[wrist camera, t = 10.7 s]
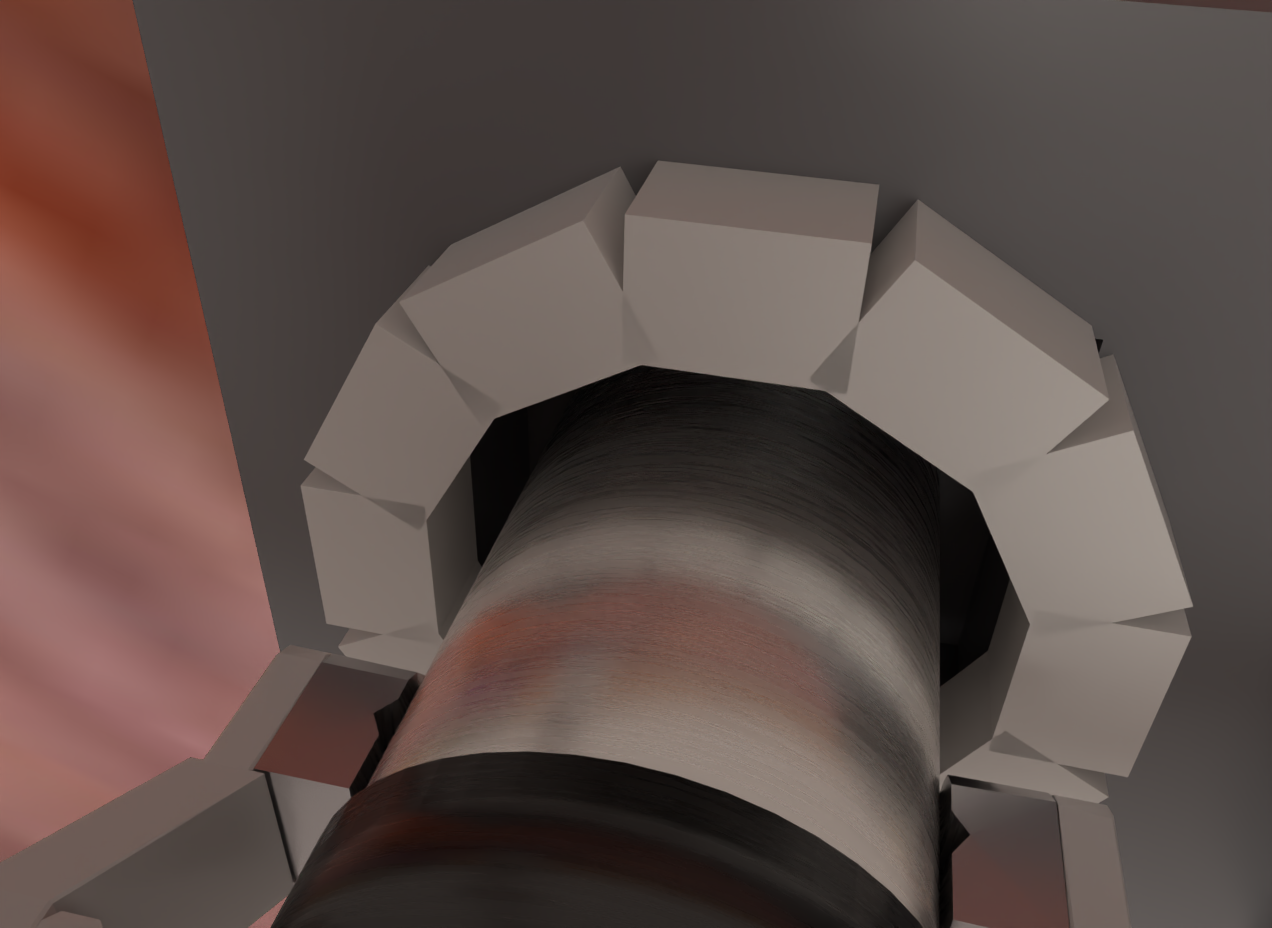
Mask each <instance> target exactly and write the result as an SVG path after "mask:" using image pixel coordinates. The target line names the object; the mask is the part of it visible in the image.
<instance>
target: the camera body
mask: <svg viewBox="0 0 1272 928" xmlns="http://www.w3.org/2000/svg"><path fill="white" fill-rule="evenodd" d="M133 4H134V9H135V13H136V18H137V22H138V26H139V31H140V35H141V40H142V44H143V48H144V53H145V57H146V62H147V66H148V70H149V75H150V79H151V84H152V88H153V93H154V97H155V101H156V106H157V110H158V115H159V119H160V123H161V128H162V132H163V137H164V141H165V145H166V150H167V154H168V159H169V163H170V168H171V172H172V176H173V181H174V185H175V190H176V194H177V198H178V203H179V207H180V212H181V216H182V220H183V225H184V229H185V234H186V238H187V243H188V247H189V251H190V256H191V260H192V265H193V269H194V273H195V278H196V282H197V287H198V291H199V296H200V300H201V304H202V309H203V313H204V318H205V322H206V326H207V331H208V335H209V340H210V344H211V348H212V353H213V357H214V362H215V366H216V371H217V375H218V379H219V384H220V388H221V393H222V397H223V401H224V406H225V410H226V415H227V419H228V423H229V428H230V432H231V437H232V441H233V446H234V450H235V454H236V459H237V463H238V468H239V472H240V476H241V481H242V485H243V490H244V494H245V498H246V503H247V507H248V512H249V516H250V521H251V525H252V529H253V534H254V538H255V543H256V547H257V551H258V556H259V560H260V565H261V569H262V573H263V578H264V582H265V587H266V591H267V596H268V600H269V604H270V609H271V613H272V618H273V622H274V626H275V631H276V635H277V640H278V644H279V648H280V652H281V651H282V650H284V649H285V648H287V647H288V646H289V645H294V646H298V647H303V648H308V649H313V650H317V651H322V652H327V653H332V654H337V655H342V656H346V657H351V658H355V659H360V660H364V661H369V662H373V663H378V664H382V665H387V666H391V667H396V668H400V669H404V670H409V671H413V672H418V673H420V674H423V675H425V674H426V673H427V671H428V669H429V667H430V665H431V663H432V661H433V659H434V657H435V656H436V654H437V652H438V650H439V648H440V646H441V644H442V642H443V640H444V638H445V637H446V635H447V633H448V631H449V629H450V627H451V625H452V623H453V621H454V619H455V618H456V616H457V614H458V612H459V610H460V608H461V606H462V604H463V602H464V600H465V599H466V597H467V595H468V593H469V591H470V589H471V587H472V585H473V583H474V581H475V580H476V578H477V576H478V574H479V572H480V570H481V568H482V566H483V564H484V563H485V561H486V559H487V557H488V555H489V553H490V551H491V549H492V547H493V545H494V544H495V542H496V540H497V538H498V536H499V534H500V532H501V530H502V528H503V526H504V525H505V523H506V521H507V519H508V517H509V515H510V513H511V511H512V509H513V507H514V506H515V504H516V502H517V500H518V498H519V496H520V494H521V492H522V490H523V489H524V487H525V485H526V483H527V481H528V479H529V477H530V475H531V473H532V471H533V470H534V468H535V466H536V464H537V462H538V460H539V458H540V456H541V454H542V452H543V451H544V449H545V447H546V445H547V443H548V441H549V439H550V437H551V435H552V433H553V432H554V430H555V428H556V426H557V424H558V422H559V420H560V418H561V416H562V414H563V413H564V411H565V409H566V407H567V405H568V403H569V401H570V399H571V397H572V396H573V394H574V392H575V390H576V389H577V388H579V387H582V386H585V385H588V384H590V383H593V382H596V381H599V380H601V379H604V378H607V377H610V376H612V375H615V374H618V373H621V372H623V371H626V370H629V369H632V368H634V367H637V366H640V365H645V366H652V367H660V368H667V369H674V370H681V371H688V372H695V373H702V374H709V375H716V376H723V377H730V378H737V379H744V380H751V381H758V382H765V383H773V384H780V385H787V386H794V387H801V388H808V389H815V390H822V391H826V392H828V393H829V394H830V395H832V396H833V397H835V398H836V399H838V400H839V401H841V402H842V403H844V404H845V405H847V406H848V407H849V408H851V409H852V410H854V411H855V412H857V413H858V414H860V415H861V416H863V417H864V418H866V419H867V420H869V421H870V422H871V423H873V424H874V425H876V426H877V427H879V428H880V429H882V430H883V431H885V432H886V433H888V434H889V435H890V436H892V437H893V438H895V439H896V440H898V441H899V442H901V443H902V444H904V445H905V446H907V447H908V448H909V449H911V450H912V451H914V452H915V453H917V454H918V455H920V456H921V457H923V458H924V459H926V460H927V461H928V462H930V463H931V464H933V465H934V466H936V467H937V468H939V474H940V790H941V787H942V784H943V781H944V780H945V778H946V776H947V775H953V776H959V777H964V778H970V779H975V780H981V781H986V782H992V783H997V784H1003V785H1008V786H1014V787H1019V788H1024V789H1030V790H1035V791H1041V792H1046V793H1049V794H1050V795H1057V796H1063V797H1068V798H1073V799H1078V800H1083V801H1088V802H1093V803H1099V804H1104V805H1107V806H1108V807H1109V809H1110V811H1111V812H1112V814H1113V816H1114V822H1115V828H1116V834H1117V841H1118V847H1119V853H1120V859H1121V865H1122V872H1123V878H1124V884H1125V890H1126V896H1127V903H1128V909H1129V915H1130V921H1131V927H1132V928H1272V0H133Z"/></svg>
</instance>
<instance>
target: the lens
mask: <svg viewBox="0 0 1272 928" xmlns="http://www.w3.org/2000/svg"><path fill="white" fill-rule="evenodd" d="M271 928H940V474H939V468H937V467H936V466H934V465H933V464H931V463H930V462H928V461H927V460H926V459H924V458H923V457H921V456H920V455H918V454H917V453H915V452H914V451H912V450H911V449H909V448H908V447H907V446H905V445H904V444H902V443H901V442H899V441H898V440H896V439H895V438H893V437H892V436H890V435H889V434H888V433H886V432H885V431H883V430H882V429H880V428H879V427H877V426H876V425H874V424H873V423H871V422H870V421H869V420H867V419H866V418H864V417H863V416H861V415H860V414H858V413H857V412H855V411H854V410H852V409H851V408H849V407H848V406H847V405H845V404H844V403H842V402H841V401H839V400H838V399H836V398H835V397H833V396H832V395H830V394H829V393H828V392H826V391H822V390H815V389H808V388H801V387H794V386H787V385H780V384H773V383H765V382H758V381H751V380H744V379H737V378H730V377H723V376H716V375H709V374H702V373H695V372H688V371H681V370H674V369H667V368H660V367H652V366H645V365H640V366H637V367H634V368H632V369H629V370H626V371H623V372H621V373H618V374H615V375H612V376H610V377H607V378H604V379H601V380H599V381H596V382H593V383H590V384H588V385H585V386H582V387H579V388H577V389H576V390H575V392H574V394H573V396H572V397H571V399H570V401H569V403H568V405H567V407H566V409H565V411H564V413H563V414H562V416H561V418H560V420H559V422H558V424H557V426H556V428H555V430H554V432H553V433H552V435H551V437H550V439H549V441H548V443H547V445H546V447H545V449H544V451H543V452H542V454H541V456H540V458H539V460H538V462H537V464H536V466H535V468H534V470H533V471H532V473H531V475H530V477H529V479H528V481H527V483H526V485H525V487H524V489H523V490H522V492H521V494H520V496H519V498H518V500H517V502H516V504H515V506H514V507H513V509H512V511H511V513H510V515H509V517H508V519H507V521H506V523H505V525H504V526H503V528H502V530H501V532H500V534H499V536H498V538H497V540H496V542H495V544H494V545H493V547H492V549H491V551H490V553H489V555H488V557H487V559H486V561H485V563H484V564H483V566H482V568H481V570H480V572H479V574H478V576H477V578H476V580H475V581H474V583H473V585H472V587H471V589H470V591H469V593H468V595H467V597H466V599H465V600H464V602H463V604H462V606H461V608H460V610H459V612H458V614H457V616H456V618H455V619H454V621H453V623H452V625H451V627H450V629H449V631H448V633H447V635H446V637H445V638H444V640H443V642H442V644H441V646H440V648H439V650H438V652H437V654H436V656H435V657H434V659H433V661H432V663H431V665H430V667H429V669H428V671H427V673H426V674H425V676H424V678H423V680H422V682H421V684H420V686H419V688H418V690H417V692H416V693H415V695H414V697H413V699H412V701H411V703H410V705H409V707H408V709H407V711H406V712H405V714H404V716H403V718H402V720H401V722H400V724H399V726H398V728H397V730H396V731H395V733H394V735H393V737H392V739H391V741H390V743H389V745H388V747H387V749H386V750H385V752H384V754H383V756H382V758H381V760H380V762H379V764H378V766H377V767H376V769H375V771H374V773H373V775H372V777H371V779H370V781H369V783H368V785H367V786H366V788H365V789H363V790H362V791H360V792H358V793H357V794H355V795H354V796H352V797H351V798H350V799H349V800H348V801H347V802H346V803H345V804H344V805H343V806H342V807H341V808H340V809H339V810H338V811H337V812H336V813H335V814H334V815H333V817H332V818H331V820H330V821H329V823H328V825H327V826H326V828H325V829H324V831H323V833H322V834H321V836H320V838H319V840H318V841H317V843H316V845H315V847H314V849H313V851H312V852H311V854H310V856H309V858H308V860H307V862H306V863H305V865H304V867H303V869H302V871H301V873H300V874H299V876H298V878H297V880H296V882H295V884H294V885H293V887H292V889H291V891H290V893H289V895H288V897H287V898H286V900H285V902H284V904H283V906H282V908H281V909H280V911H279V913H278V915H277V917H276V919H275V920H274V922H273V924H272V926H271Z"/></svg>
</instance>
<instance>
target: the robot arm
mask: <svg viewBox="0 0 1272 928" xmlns="http://www.w3.org/2000/svg"><path fill="white" fill-rule="evenodd" d="M424 676H425V675H423V674H420V673H418V672H413V671H409V670H404V669H400V668H396V667H391V666H387V665H382V664H378V663H373V662H369V661H364V660H360V659H355V658H351V657H346V656H342V655H337V654H332V653H327V652H322V651H317V650H313V649H308V648H303V647H298V646H294V645H289V646H288V647H287V648H285V649H284V650H282V651H281V652H280V653H278V654H277V655H276V656H275V658H274V659H273V660H272V662H271V663H270V665H269V666H268V668H267V669H266V670H265V672H264V673H263V675H262V676H261V678H260V679H259V680H258V682H257V683H256V685H255V686H254V688H253V689H252V690H251V692H250V693H249V695H248V696H247V698H246V699H245V700H244V702H243V703H242V705H241V706H240V708H239V709H238V711H237V712H236V713H235V715H234V716H233V718H232V719H231V721H230V722H229V723H228V725H227V726H226V728H225V729H224V731H223V732H222V733H221V735H220V736H219V738H218V739H217V741H216V742H215V743H214V745H213V746H212V748H211V749H210V751H209V752H208V753H207V755H206V756H205V758H204V759H198V758H192V757H190V758H188V759H186V760H185V761H183V762H181V763H179V764H177V765H176V766H174V767H172V768H170V769H168V770H167V771H165V772H163V773H161V774H159V775H158V776H156V777H154V778H152V779H150V780H148V781H147V782H145V783H143V784H141V785H139V786H138V787H136V788H134V789H132V790H130V791H129V792H127V793H125V794H123V795H121V796H120V797H118V798H116V799H114V800H112V801H111V802H109V803H107V804H105V805H103V806H102V807H100V808H98V809H96V810H94V811H93V812H91V813H89V814H87V815H85V816H84V817H82V818H80V819H78V820H76V821H75V822H73V823H71V824H69V825H67V826H66V827H64V828H62V829H60V830H58V831H57V832H55V833H53V834H51V835H49V836H48V837H46V838H44V839H42V840H40V841H39V842H37V843H35V844H33V845H31V846H29V847H28V848H26V849H24V850H22V851H20V852H19V853H17V854H15V855H13V856H11V857H10V858H8V859H6V860H4V861H2V862H1V863H0V928H248V927H249V926H250V925H252V924H253V923H254V922H255V921H257V920H258V919H259V918H260V917H261V916H263V915H264V914H265V913H266V912H268V911H269V910H270V909H271V908H273V907H274V906H275V905H276V904H278V903H279V902H280V901H281V900H283V899H284V898H285V897H286V896H288V895H289V893H290V891H291V889H292V887H293V885H294V884H295V882H296V880H297V878H298V876H299V874H300V873H301V871H302V869H303V867H304V865H305V863H306V862H307V860H308V858H309V856H310V854H311V852H312V851H313V849H314V847H315V845H316V843H317V841H318V840H319V838H320V836H321V834H322V833H323V831H324V829H325V828H326V826H327V825H328V823H329V821H330V820H331V818H332V817H333V815H334V814H335V813H336V812H337V811H338V810H339V809H340V808H341V807H342V806H343V805H344V804H345V803H346V802H347V801H348V800H349V799H350V798H351V797H352V796H354V795H355V794H357V793H358V792H360V791H362V790H363V789H365V788H366V786H367V785H368V783H369V781H370V779H371V777H372V775H373V773H374V771H375V769H376V767H377V766H378V764H379V762H380V760H381V758H382V756H383V754H384V752H385V750H386V749H387V747H388V745H389V743H390V741H391V739H392V737H393V735H394V733H395V731H396V730H397V728H398V726H399V724H400V722H401V720H402V718H403V716H404V714H405V712H406V711H407V709H408V707H409V705H410V703H411V701H412V699H413V697H414V695H415V693H416V692H417V690H418V688H419V686H420V684H421V682H422V680H423V678H424ZM940 928H1132V927H1131V921H1130V915H1129V909H1128V903H1127V896H1126V890H1125V884H1124V878H1123V872H1122V865H1121V859H1120V853H1119V847H1118V841H1117V834H1116V828H1115V822H1114V816H1113V814H1112V812H1111V811H1110V809H1109V807H1108V806H1107V805H1104V804H1099V803H1093V802H1088V801H1083V800H1078V799H1073V798H1068V797H1063V796H1057V795H1050V794H1049V793H1046V792H1041V791H1035V790H1030V789H1024V788H1019V787H1014V786H1008V785H1003V784H997V783H992V782H986V781H981V780H975V779H970V778H964V777H959V776H953V775H947V776H946V778H945V780H944V781H943V784H942V787H941V790H940Z"/></svg>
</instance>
